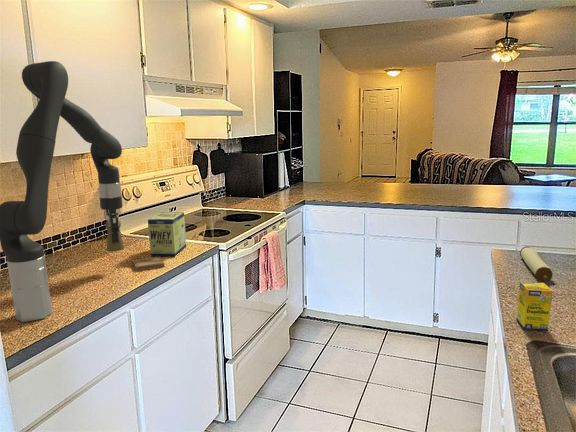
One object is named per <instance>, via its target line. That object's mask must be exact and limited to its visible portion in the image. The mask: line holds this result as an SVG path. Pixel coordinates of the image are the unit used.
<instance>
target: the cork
mask: <svg viewBox="0 0 576 432" xmlns="http://www.w3.org/2000/svg"><path fill="white" fill-rule="evenodd" d="M110 224H111V223H110ZM121 226H122V223H121V221H120V220H119V226H118V227H119V232H118V239H119V243H116V242H115V243H114V244H113V243H112V235H111V232H110V231H111V228H110V227H109V224H108V221H107V220H106V222H105V228H106V229H107V233H106V234H107V241H106V242H107V243H106V252H119V251H123V250H124V249H125V245H124V241H123V237H122V233H121ZM113 229H116V227H113Z"/></svg>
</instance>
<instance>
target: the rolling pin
mask: <svg viewBox="0 0 576 432" xmlns="http://www.w3.org/2000/svg"><path fill="white" fill-rule="evenodd" d="M519 256H520V257H521V258H522V259H523V260H524V261H523V262H525V264H526V265H527V267H529V269H530V270H531V272H532V273H533V274H534V275H535V278H536V279H537V280H538V281H540V282H548V281H550V280H551V279H552V278H553V272H554V270H553V268H551V267H550V266H548V264H546V263H545V262H544V261H543V260H542V259H541V257H540V255H538V252H537V249H536V248H533V247H530V246H524V247H522V248H521V249H520V251H519Z"/></svg>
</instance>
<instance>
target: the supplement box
mask: <svg viewBox="0 0 576 432" xmlns="http://www.w3.org/2000/svg"><path fill="white" fill-rule="evenodd" d="M518 293H519V294H518V299H517V300H518V301H517V310H516V321H517V323H518V324H519V325H520V327H521V328H522V329H523V330H525V331H527V330H528V331H529V330H530V331H531V330H533V331H543V332H548V331H549V324H550V323H549V322H550V315H551V314H550V313H551V307H552V306H551V305H552V298H553V296H552V295H553V290H552V289H551V288H550V287H549V286H548V285H547V284H546V283H545V282H524V281H520V282H519V291H518Z"/></svg>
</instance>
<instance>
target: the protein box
mask: <svg viewBox="0 0 576 432" xmlns="http://www.w3.org/2000/svg"><path fill="white" fill-rule="evenodd" d="M147 228H148V229H147V230H148V237H149V238H148V239H149V249H150V258H152V257H160V258H163V257H164V258H176V257H177V256H178V255H179V254H181V252H182V251H183V250H184V249H186V248H187V239H186V238H187V237H186V236H187V235H186V222H185V212H181V211H180V212H179V211H178V212H177V211H176V212H175V211H173V212H169V211H167V212H166V211H165V212H164V211H163V212H159V213H157V214H156V215H154V216H153V217H150V218H149V219H147ZM178 253H179V254H178ZM177 254H178V255H177ZM176 255H177V256H176ZM175 256H176V257H175Z"/></svg>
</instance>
